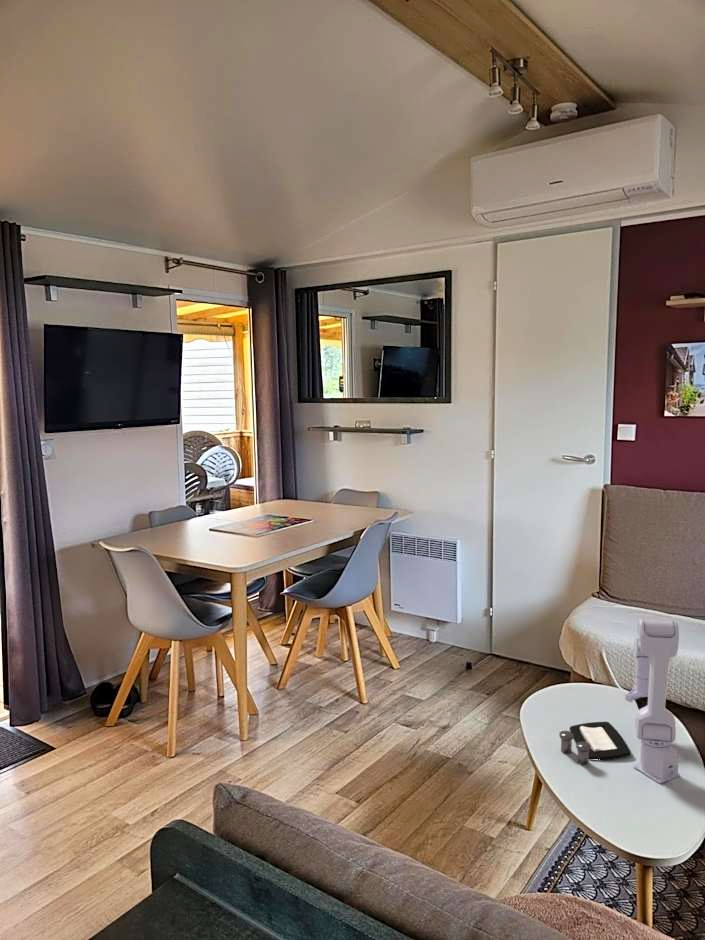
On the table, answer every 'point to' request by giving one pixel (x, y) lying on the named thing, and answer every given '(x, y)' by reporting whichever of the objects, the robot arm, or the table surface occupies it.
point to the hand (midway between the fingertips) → (644, 717)
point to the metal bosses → (581, 746)
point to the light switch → (601, 740)
